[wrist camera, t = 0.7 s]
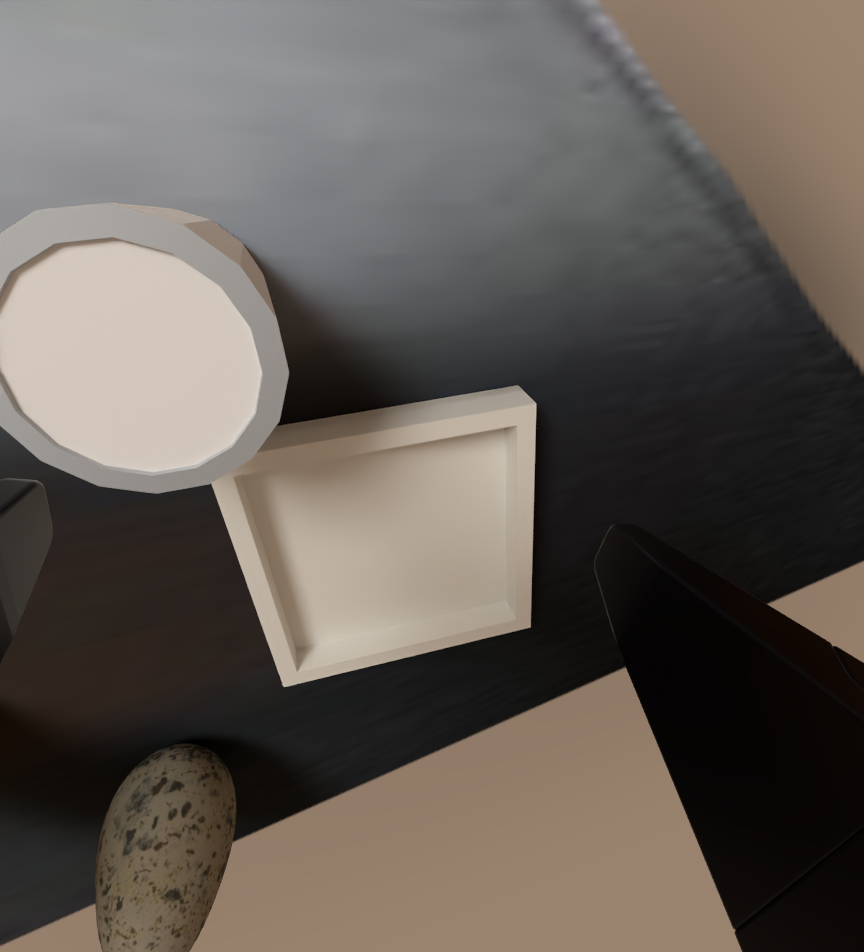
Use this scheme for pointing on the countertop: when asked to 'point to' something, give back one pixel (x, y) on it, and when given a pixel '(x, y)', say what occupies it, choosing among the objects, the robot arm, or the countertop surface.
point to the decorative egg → (164, 851)
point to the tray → (387, 530)
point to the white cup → (136, 346)
